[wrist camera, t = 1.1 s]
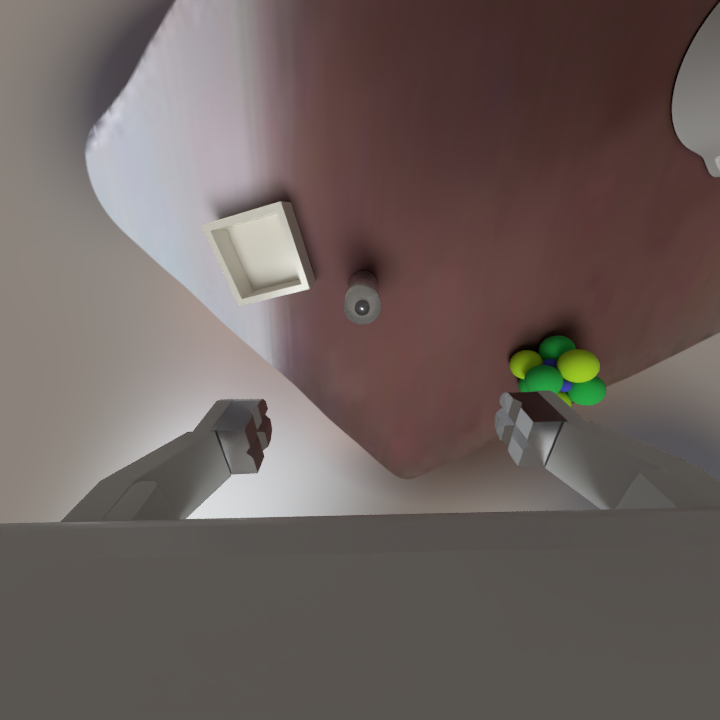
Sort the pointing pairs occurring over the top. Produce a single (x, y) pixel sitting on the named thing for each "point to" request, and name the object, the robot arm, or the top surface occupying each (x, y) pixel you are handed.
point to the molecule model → (560, 371)
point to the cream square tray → (261, 253)
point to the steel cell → (362, 298)
